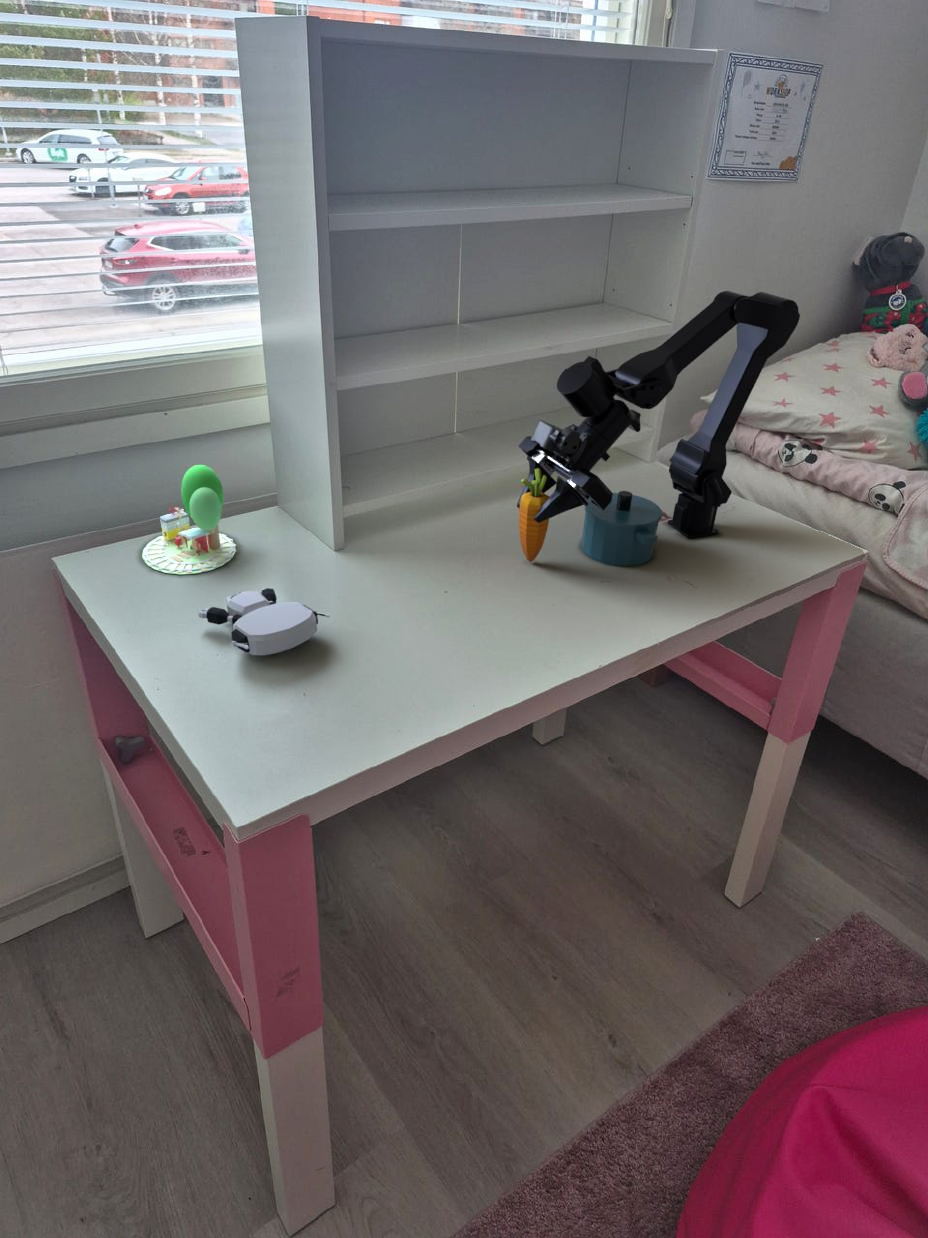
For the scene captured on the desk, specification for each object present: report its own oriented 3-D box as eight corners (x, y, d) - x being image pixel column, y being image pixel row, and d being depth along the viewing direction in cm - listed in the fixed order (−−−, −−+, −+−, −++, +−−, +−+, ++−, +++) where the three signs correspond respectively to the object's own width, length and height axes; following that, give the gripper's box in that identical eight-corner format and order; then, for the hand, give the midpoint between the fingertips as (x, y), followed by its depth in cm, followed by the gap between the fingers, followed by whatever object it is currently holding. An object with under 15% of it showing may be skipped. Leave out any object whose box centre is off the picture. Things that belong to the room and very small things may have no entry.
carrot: (536, 572, 132) (545, 481, 124) (508, 563, 135) (515, 473, 127) (551, 560, 136) (561, 470, 128) (524, 551, 138) (531, 462, 130)
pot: (620, 524, 149) (625, 486, 146) (675, 568, 136) (683, 528, 133) (561, 532, 145) (566, 494, 142) (612, 578, 132) (619, 538, 129)
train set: (125, 455, 130) (220, 447, 134) (138, 536, 137) (228, 525, 141) (132, 493, 118) (236, 483, 123) (146, 580, 125) (244, 567, 130)
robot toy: (194, 632, 115) (253, 676, 106) (189, 602, 113) (248, 644, 104) (274, 603, 123) (335, 642, 113) (270, 574, 121) (332, 611, 111)
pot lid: (634, 495, 144) (637, 475, 143) (676, 525, 135) (680, 504, 133) (570, 503, 140) (572, 482, 138) (608, 535, 131) (611, 513, 129)
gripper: (534, 383, 131) (466, 462, 132) (605, 422, 117) (529, 510, 118) (572, 427, 138) (507, 501, 139) (643, 468, 124) (571, 550, 125)
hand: (527, 514), depth 130 cm, fingers closed on carrot, 5 cm apart
